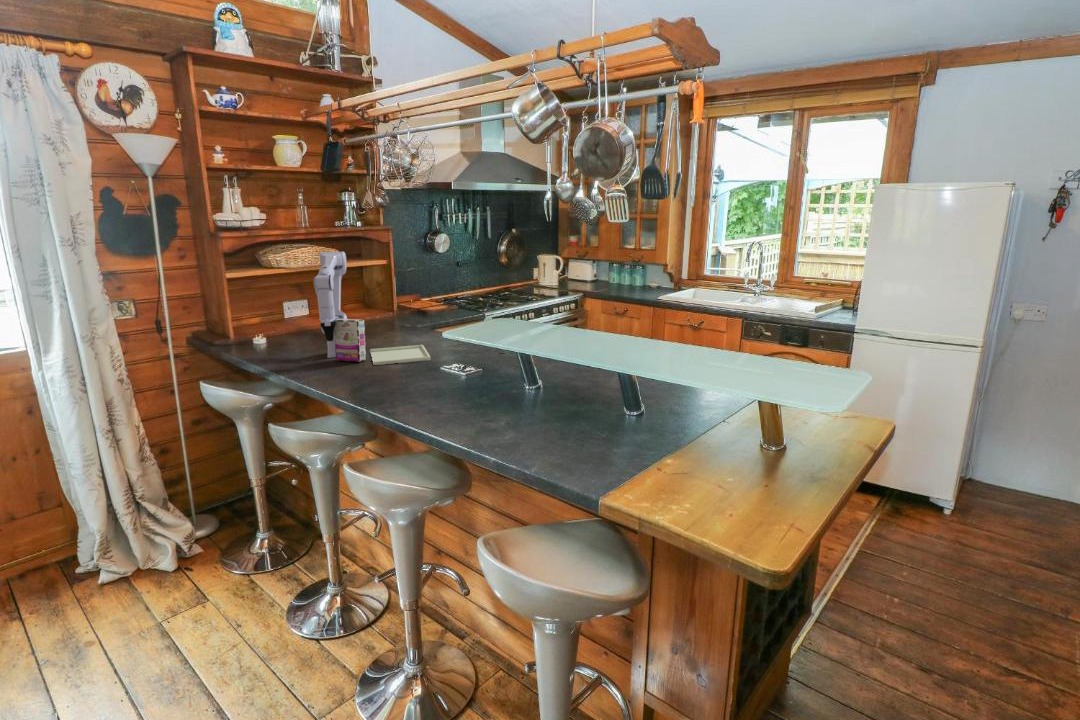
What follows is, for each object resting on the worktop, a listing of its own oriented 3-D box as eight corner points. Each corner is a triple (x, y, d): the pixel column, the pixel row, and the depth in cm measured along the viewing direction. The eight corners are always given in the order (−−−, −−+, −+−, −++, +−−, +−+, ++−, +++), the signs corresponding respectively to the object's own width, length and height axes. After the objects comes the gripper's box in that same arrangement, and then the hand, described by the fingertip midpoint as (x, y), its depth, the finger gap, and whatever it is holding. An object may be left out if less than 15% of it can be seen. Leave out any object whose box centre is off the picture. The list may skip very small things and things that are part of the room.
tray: (370, 352, 247) (370, 349, 247) (423, 348, 254) (422, 344, 254) (373, 365, 227) (373, 362, 227) (430, 360, 234) (430, 356, 234)
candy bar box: (366, 360, 236) (365, 319, 233) (359, 362, 231) (358, 320, 228) (342, 358, 239) (341, 318, 236) (335, 360, 234) (333, 319, 231)
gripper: (337, 308, 221) (340, 343, 225) (337, 302, 235) (340, 336, 238) (317, 310, 219) (321, 345, 223) (318, 304, 233) (322, 337, 236)
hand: (330, 340), depth 230 cm, fingers closed
